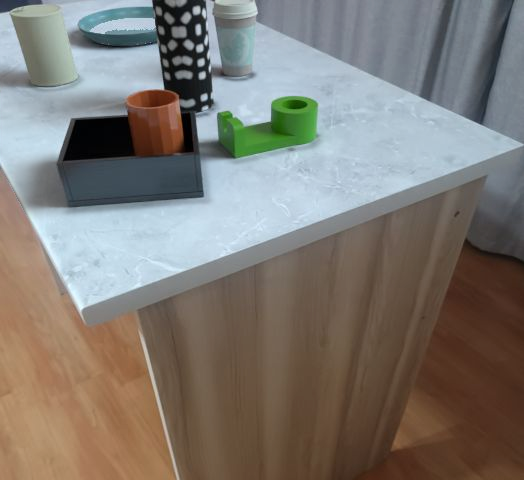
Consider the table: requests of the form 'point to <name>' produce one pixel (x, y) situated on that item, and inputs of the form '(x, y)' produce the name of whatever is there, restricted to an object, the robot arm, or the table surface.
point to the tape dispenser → (270, 127)
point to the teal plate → (122, 35)
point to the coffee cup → (235, 34)
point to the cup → (155, 122)
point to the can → (44, 44)
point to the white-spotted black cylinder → (185, 51)
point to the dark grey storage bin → (125, 164)
